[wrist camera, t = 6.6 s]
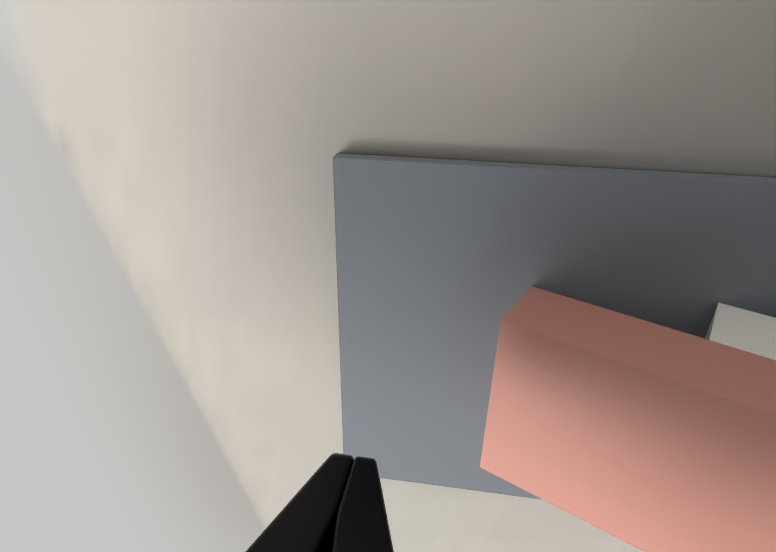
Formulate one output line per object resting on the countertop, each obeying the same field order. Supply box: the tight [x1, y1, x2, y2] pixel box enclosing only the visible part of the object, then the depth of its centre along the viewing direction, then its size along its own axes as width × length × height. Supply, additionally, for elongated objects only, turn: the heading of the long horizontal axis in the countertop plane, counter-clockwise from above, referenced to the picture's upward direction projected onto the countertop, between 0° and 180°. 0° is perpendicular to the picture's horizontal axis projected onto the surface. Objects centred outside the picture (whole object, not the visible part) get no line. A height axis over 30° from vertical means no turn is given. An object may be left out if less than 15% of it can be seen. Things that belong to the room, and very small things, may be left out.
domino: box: [480, 286, 776, 552], centre depth 10 cm, size 4×2×9 cm
